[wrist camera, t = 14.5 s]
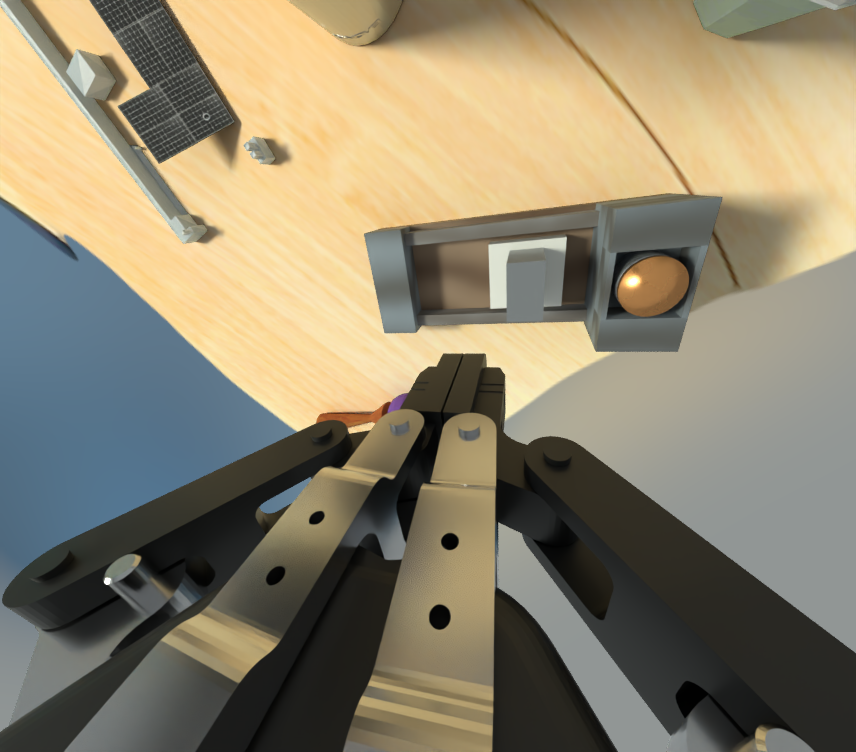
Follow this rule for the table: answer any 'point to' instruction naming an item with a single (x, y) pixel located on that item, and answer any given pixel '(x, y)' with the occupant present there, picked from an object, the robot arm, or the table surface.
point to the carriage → (526, 276)
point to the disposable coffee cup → (755, 13)
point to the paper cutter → (142, 95)
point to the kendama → (365, 418)
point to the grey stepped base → (583, 271)
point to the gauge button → (649, 282)
